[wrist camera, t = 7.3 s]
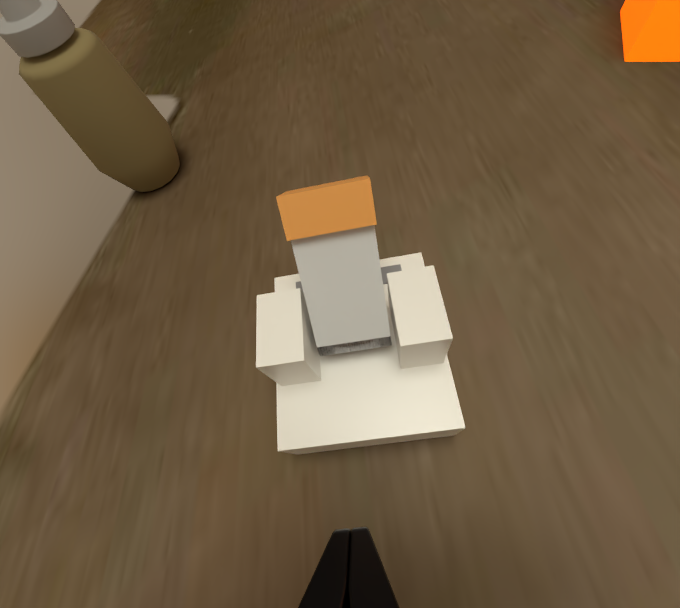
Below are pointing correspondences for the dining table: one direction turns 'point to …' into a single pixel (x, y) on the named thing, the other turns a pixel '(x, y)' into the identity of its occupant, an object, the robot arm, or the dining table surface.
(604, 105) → the dining table surface
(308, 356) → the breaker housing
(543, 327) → the dining table surface
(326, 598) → the robot arm
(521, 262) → the dining table surface
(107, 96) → the squeeze bottle
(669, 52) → the orange juice
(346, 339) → the lever
